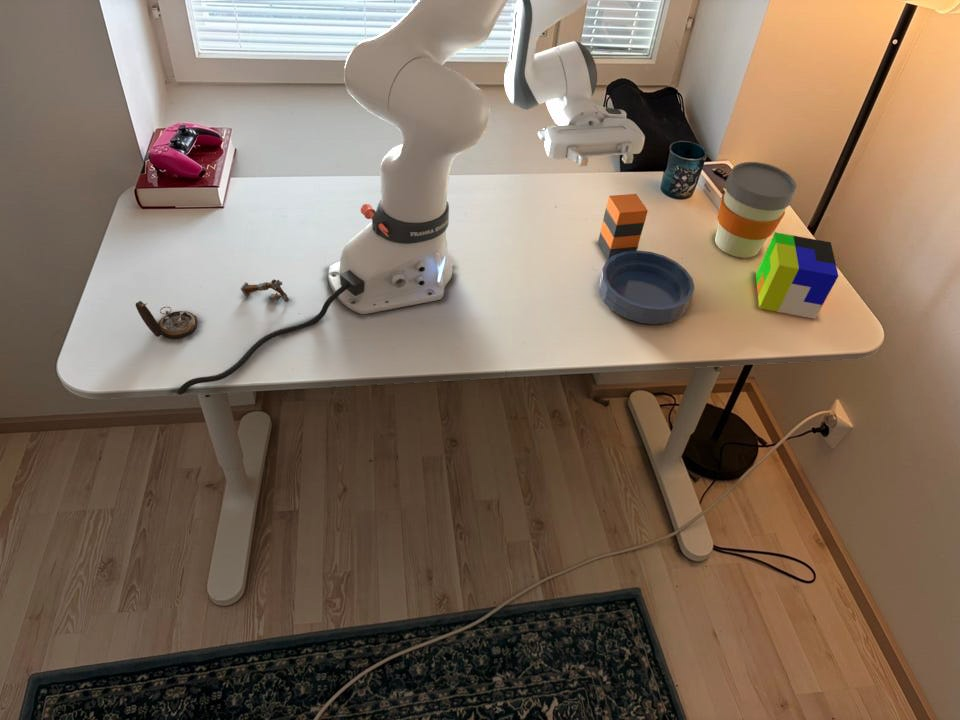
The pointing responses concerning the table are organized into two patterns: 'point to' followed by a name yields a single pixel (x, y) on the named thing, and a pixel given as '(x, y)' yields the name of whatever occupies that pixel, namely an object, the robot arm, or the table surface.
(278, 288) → the gnarled brown twig
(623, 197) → the puzzle tower
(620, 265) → the bowl
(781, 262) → the puzzle toy
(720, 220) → the reusable coffee cup
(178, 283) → the table surface
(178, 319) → the compass
